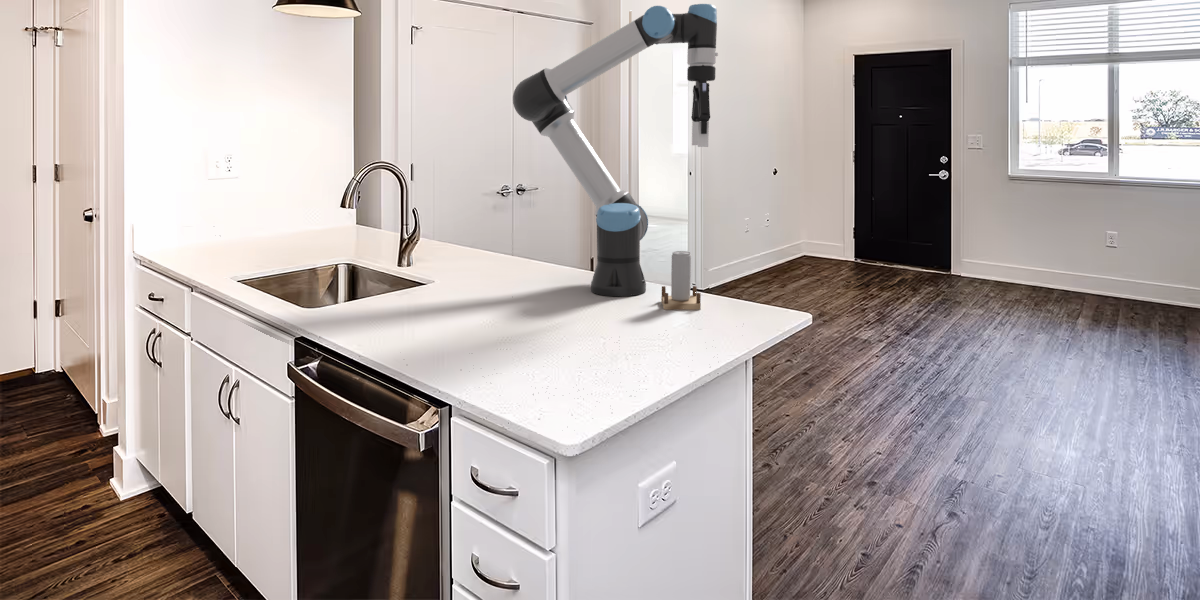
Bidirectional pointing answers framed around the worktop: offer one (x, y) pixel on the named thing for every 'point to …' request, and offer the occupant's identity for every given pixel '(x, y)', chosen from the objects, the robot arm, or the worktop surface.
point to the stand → (681, 305)
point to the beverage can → (680, 275)
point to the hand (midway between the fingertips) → (699, 146)
